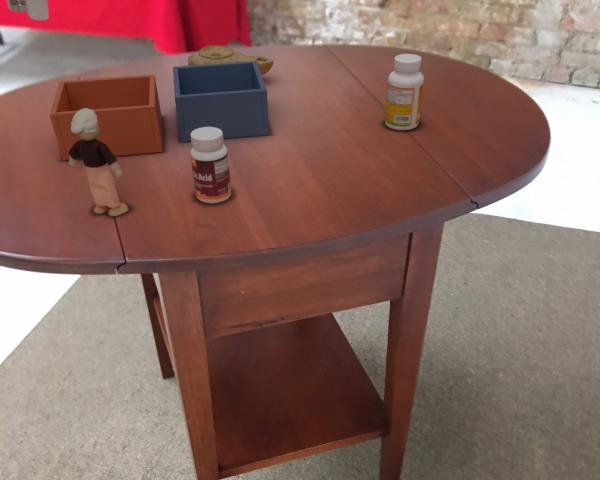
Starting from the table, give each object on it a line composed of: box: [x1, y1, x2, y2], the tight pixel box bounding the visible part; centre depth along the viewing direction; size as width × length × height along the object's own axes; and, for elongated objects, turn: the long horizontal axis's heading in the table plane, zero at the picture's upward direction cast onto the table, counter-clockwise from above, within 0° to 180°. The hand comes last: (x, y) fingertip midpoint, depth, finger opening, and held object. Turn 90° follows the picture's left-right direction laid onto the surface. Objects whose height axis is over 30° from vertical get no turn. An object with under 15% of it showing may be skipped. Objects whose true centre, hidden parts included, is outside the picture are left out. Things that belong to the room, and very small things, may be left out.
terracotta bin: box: [49, 74, 164, 161], centre depth 96 cm, size 15×14×7 cm
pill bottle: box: [189, 127, 232, 204], centre depth 82 cm, size 5×5×8 cm
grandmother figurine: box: [68, 108, 130, 217], centre depth 78 cm, size 8×4×13 cm, turn 78°
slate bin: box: [172, 61, 270, 143], centre depth 100 cm, size 14×14×7 cm
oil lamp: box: [187, 44, 274, 76], centre depth 114 cm, size 11×14×5 cm
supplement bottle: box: [384, 53, 425, 131], centre depth 97 cm, size 5×5×10 cm
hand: (28, 15), depth 67 cm, fingers open, 8 cm apart
